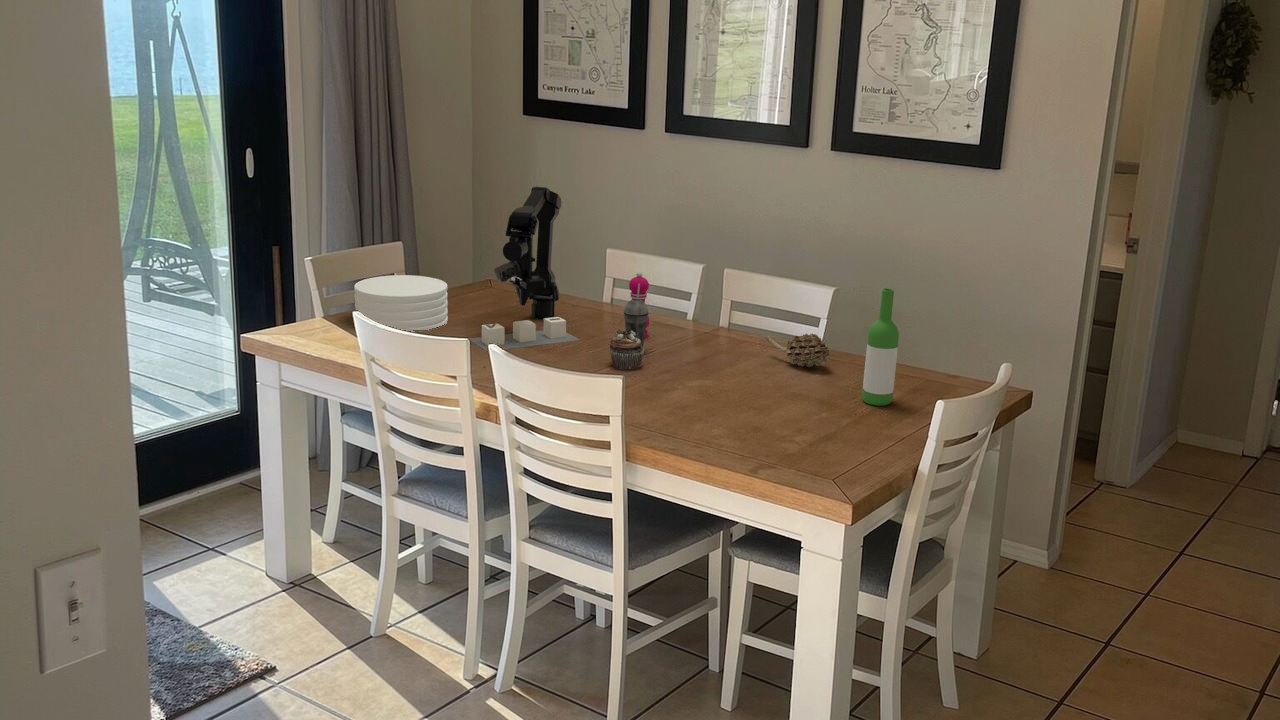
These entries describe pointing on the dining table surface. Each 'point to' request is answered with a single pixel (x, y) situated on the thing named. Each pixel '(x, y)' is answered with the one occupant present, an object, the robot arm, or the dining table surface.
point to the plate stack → (403, 301)
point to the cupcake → (626, 350)
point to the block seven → (493, 334)
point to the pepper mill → (642, 291)
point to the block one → (554, 327)
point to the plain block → (524, 331)
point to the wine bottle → (881, 355)
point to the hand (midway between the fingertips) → (522, 305)
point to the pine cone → (805, 350)
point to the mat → (514, 343)
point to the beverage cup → (636, 317)
